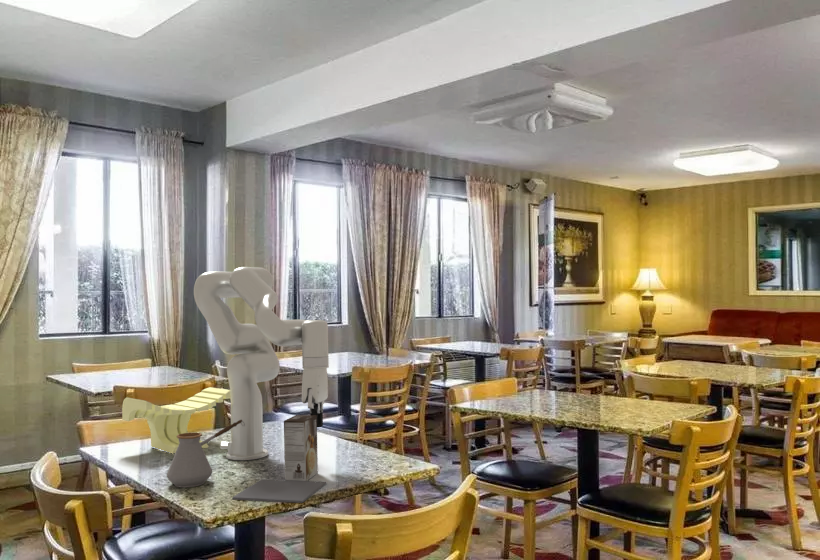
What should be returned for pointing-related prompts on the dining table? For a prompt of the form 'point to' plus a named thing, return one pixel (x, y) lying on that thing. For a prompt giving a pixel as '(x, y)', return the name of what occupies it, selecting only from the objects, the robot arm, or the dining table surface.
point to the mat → (280, 490)
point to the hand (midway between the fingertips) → (316, 426)
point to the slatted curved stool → (171, 416)
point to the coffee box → (300, 447)
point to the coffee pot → (192, 459)
